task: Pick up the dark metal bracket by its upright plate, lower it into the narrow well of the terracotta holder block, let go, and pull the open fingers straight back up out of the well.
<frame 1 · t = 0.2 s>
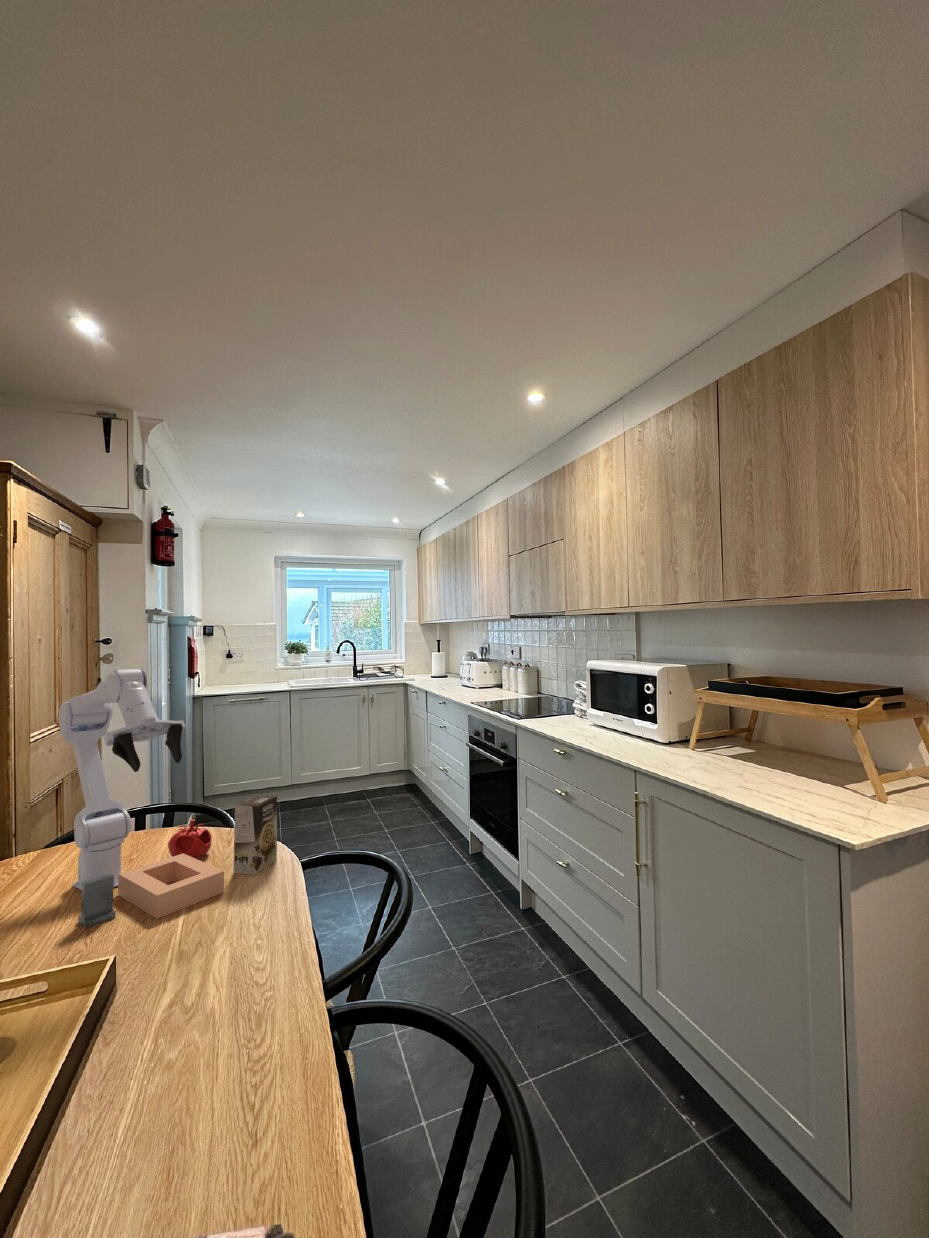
hand: (158, 763, 106), 31 cm above the table, tool tilted 45°, fingers open, 7 cm apart
holder block: (171, 893, 117), on the table
bracket: (96, 920, 105), on the table
pomegranate: (190, 857, 137), on the table
coffee box: (255, 867, 130), on the table
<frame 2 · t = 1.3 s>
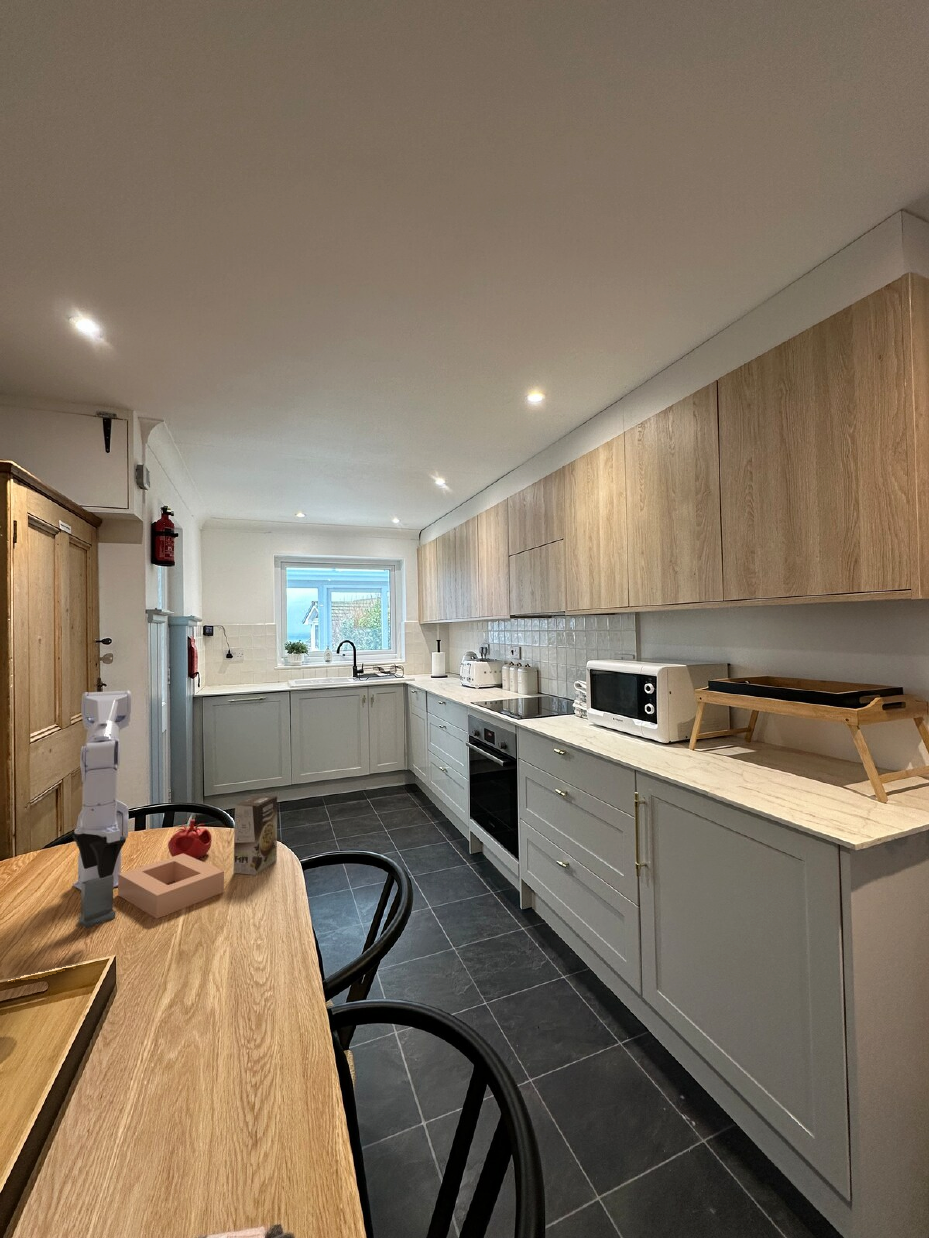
hand: (98, 871, 106), 9 cm above the table, tool pointing down, fingers open, 7 cm apart
nothing on the table moved.
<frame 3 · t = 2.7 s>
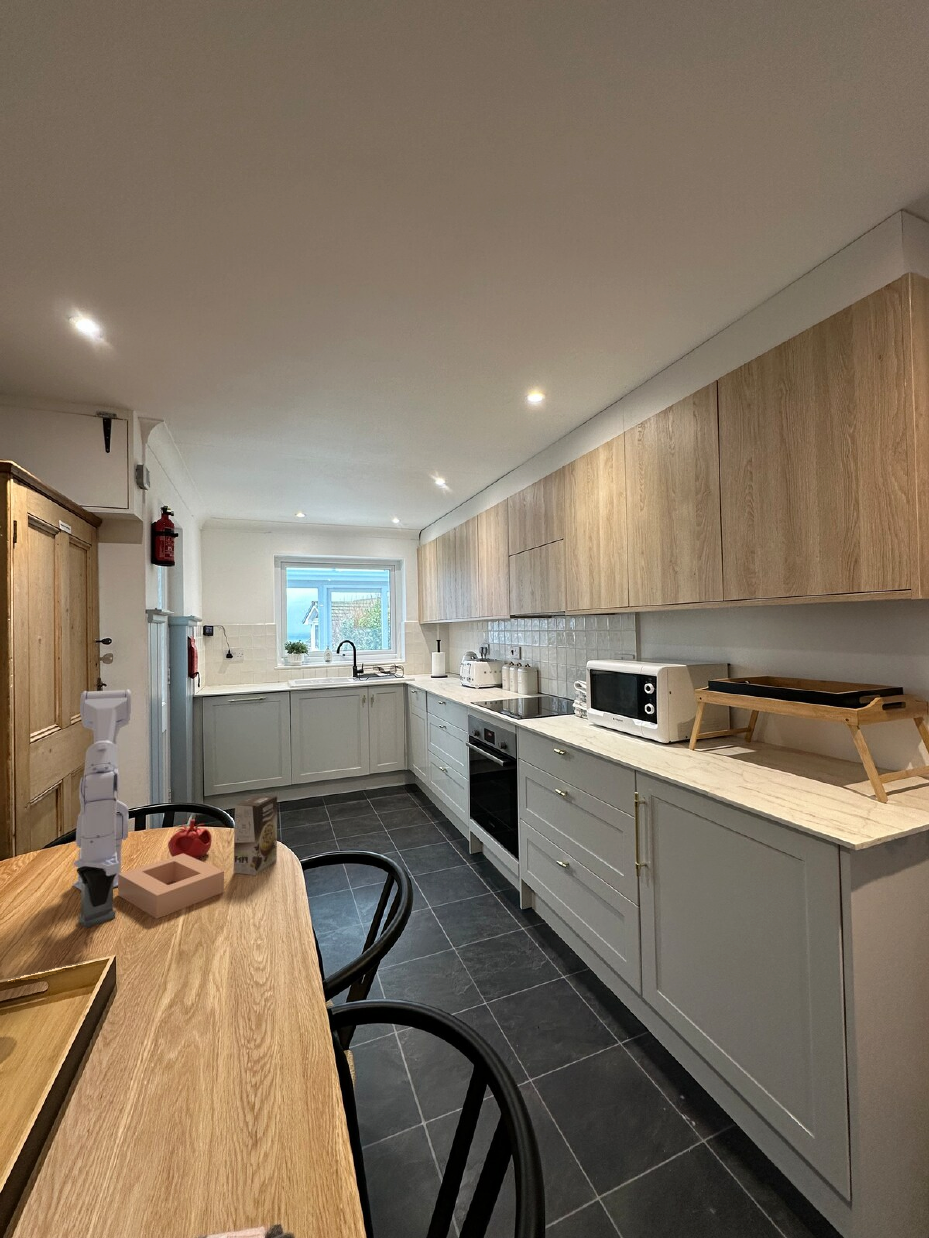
hand: (97, 903, 106), 3 cm above the table, tool pointing down, fingers closed on bracket, 2 cm apart
bracket: (96, 919, 105), on the table, touching gripper
everything else where it was.
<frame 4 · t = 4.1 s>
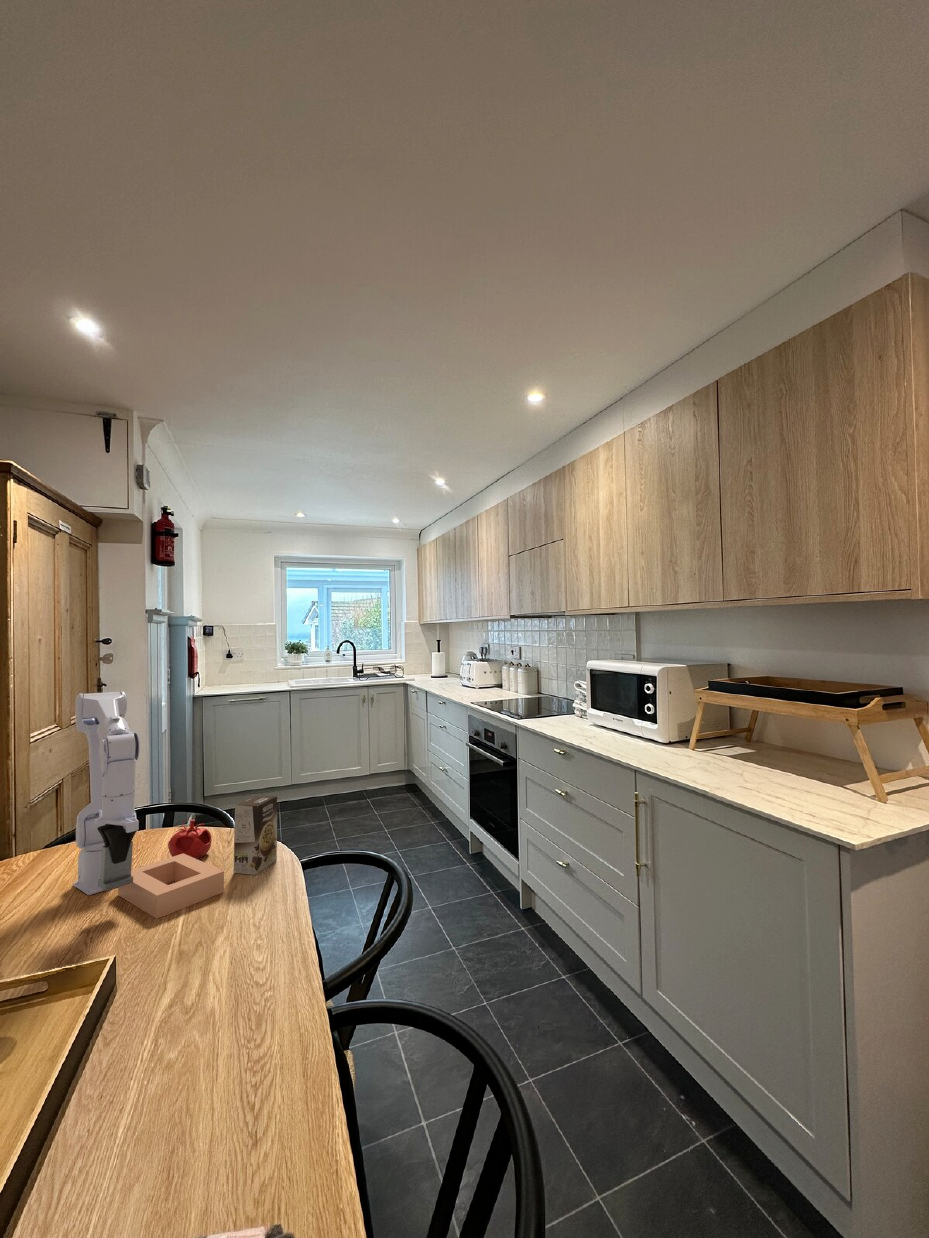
hand: (117, 860, 109), 10 cm above the table, tool pointing down, fingers closed on bracket
bracket: (115, 884, 108), point 6 cm above the table, touching gripper
everything else where it was.
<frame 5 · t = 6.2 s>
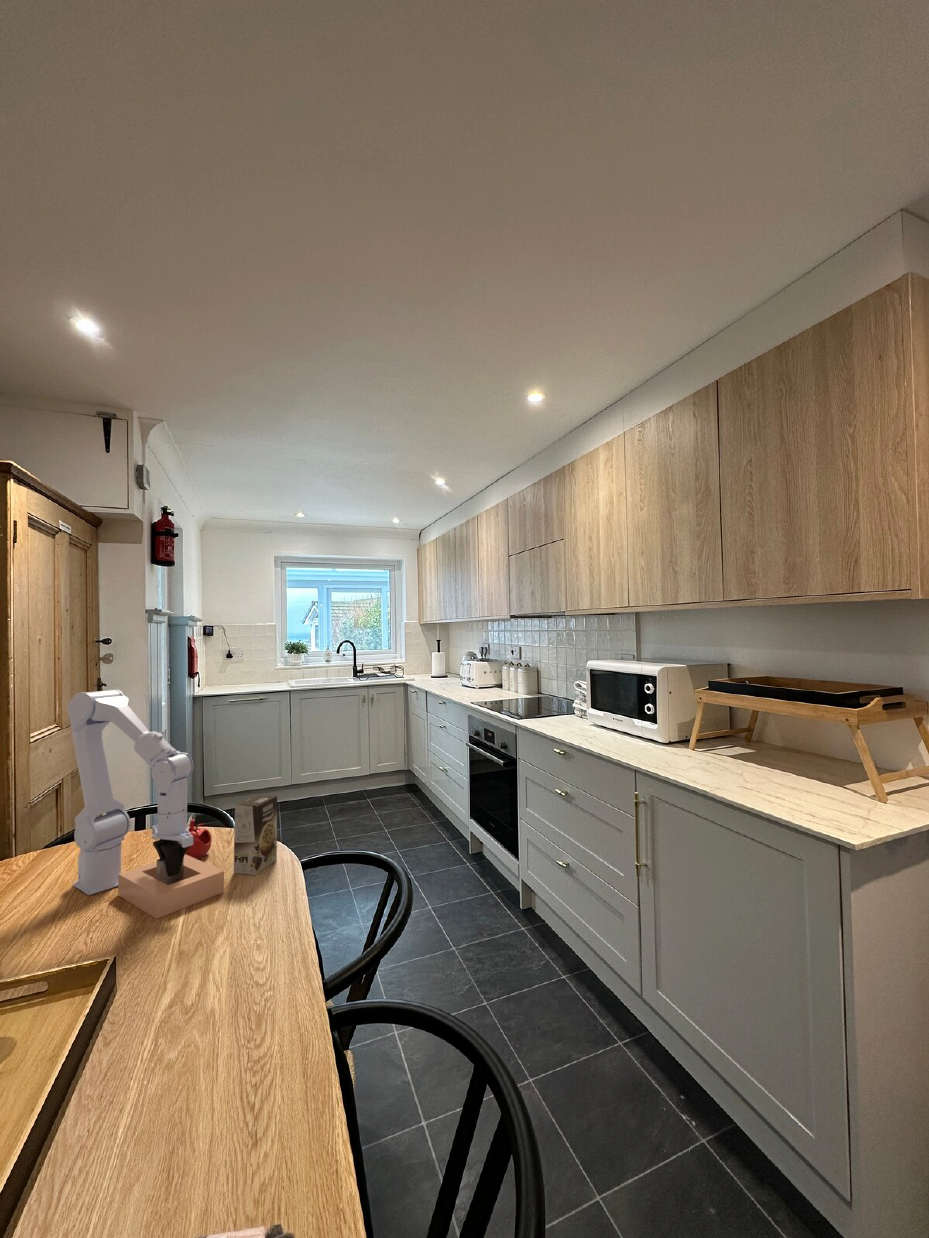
hand: (171, 873, 117), 4 cm above the table, tool pointing down, fingers closed on bracket, 2 cm apart
bracket: (169, 894, 116), resting in holder block, touching gripper
everything else where it was.
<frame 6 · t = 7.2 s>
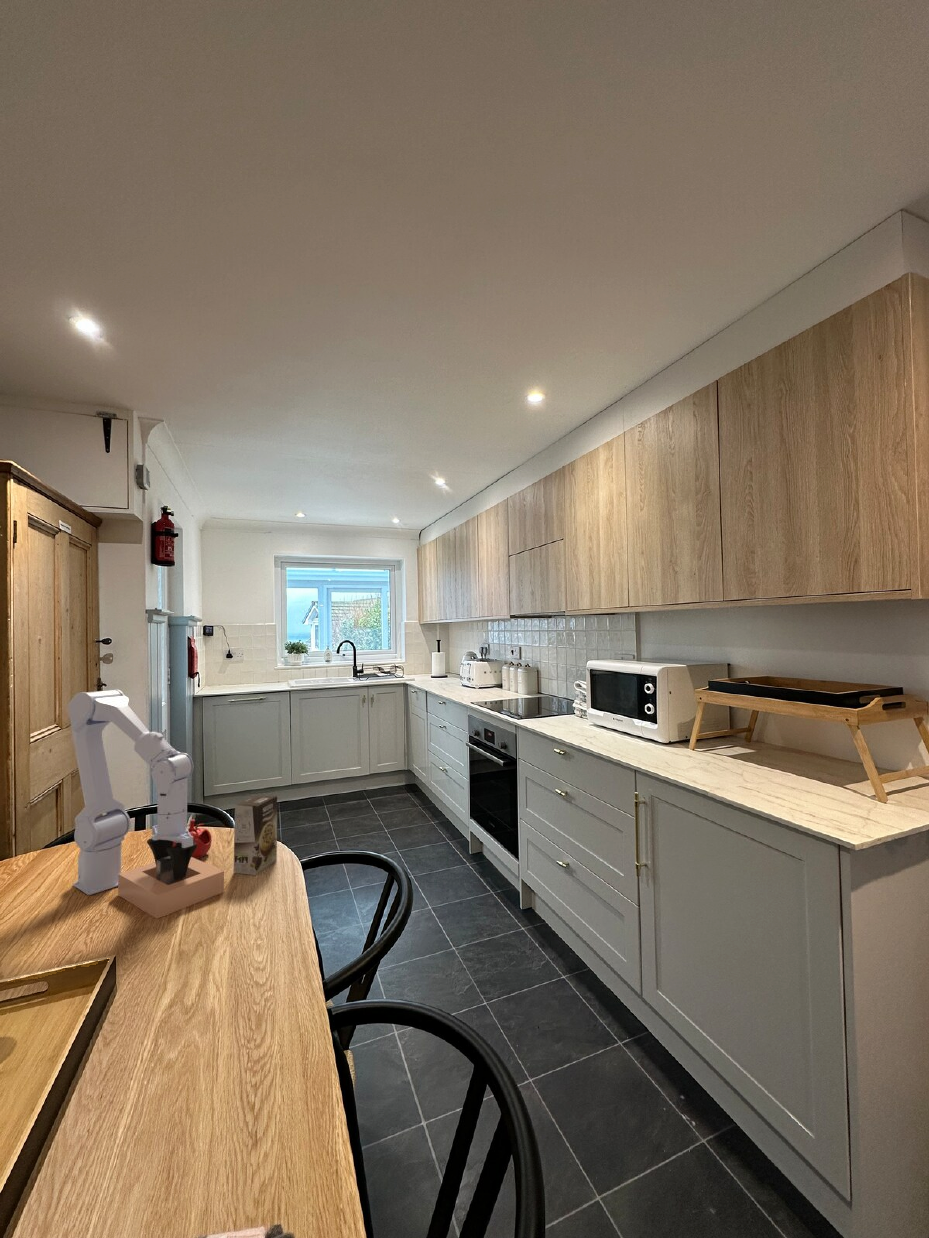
hand: (171, 873, 117), 4 cm above the table, tool pointing down, fingers open, 7 cm apart
bracket: (169, 894, 116), resting in holder block
everything else where it was.
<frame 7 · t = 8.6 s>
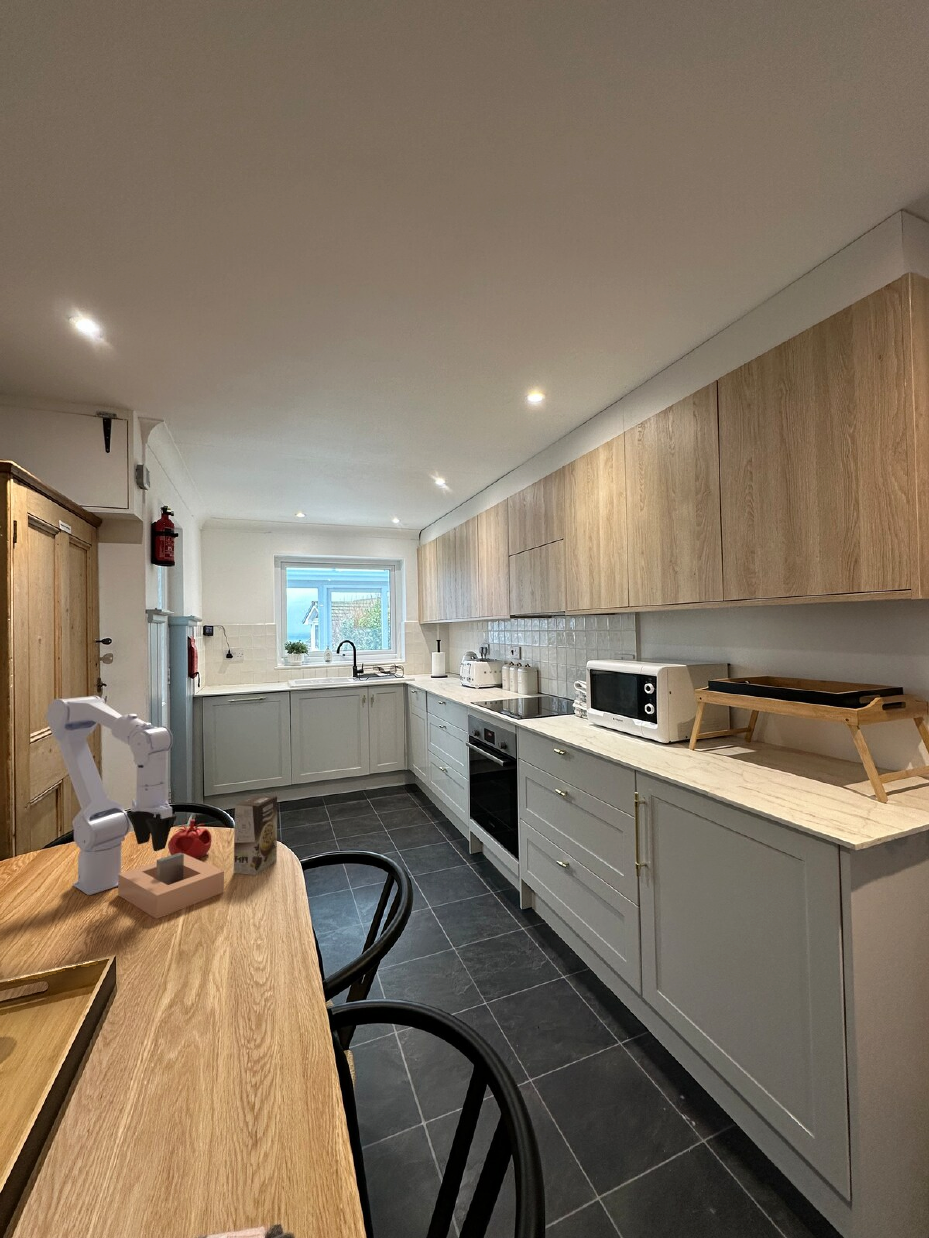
hand: (151, 846, 117), 10 cm above the table, tool pointing down, fingers open, 7 cm apart
nothing on the table moved.
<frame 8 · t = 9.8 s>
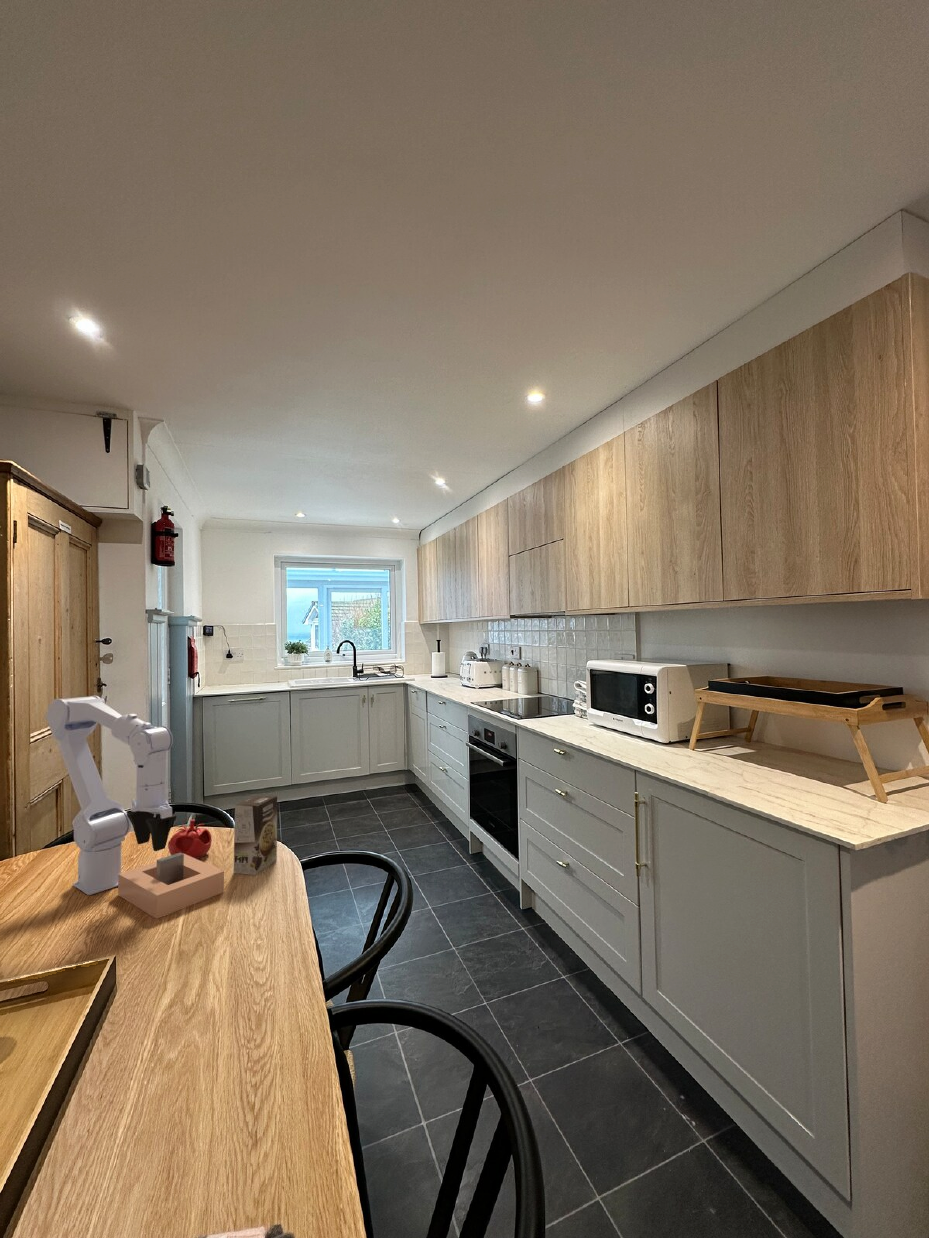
hand: (151, 846, 117), 10 cm above the table, tool pointing down, fingers open, 7 cm apart
nothing on the table moved.
at the end: bracket 0.3 cm off-centre on the holder block, point 0.0 cm above the holder block's base; bracket tilted 0°; the gripper is holding nothing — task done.
